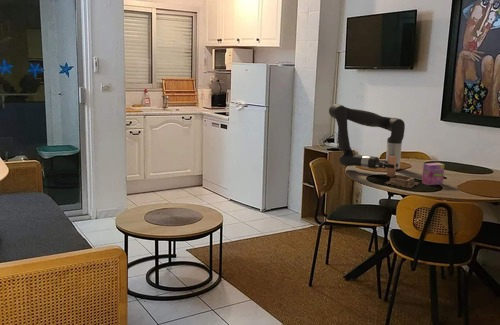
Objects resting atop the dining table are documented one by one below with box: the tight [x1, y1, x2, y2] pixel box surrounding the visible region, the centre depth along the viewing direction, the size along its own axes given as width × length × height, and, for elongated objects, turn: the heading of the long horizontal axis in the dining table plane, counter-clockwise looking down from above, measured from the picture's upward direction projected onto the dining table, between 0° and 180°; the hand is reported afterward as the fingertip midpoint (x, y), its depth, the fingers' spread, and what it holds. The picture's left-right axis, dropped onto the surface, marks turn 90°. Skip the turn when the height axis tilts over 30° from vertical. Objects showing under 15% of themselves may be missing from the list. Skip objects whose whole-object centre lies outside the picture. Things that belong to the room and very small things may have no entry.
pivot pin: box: [386, 156, 397, 178], centre depth 302 cm, size 5×5×12 cm
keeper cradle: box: [385, 174, 420, 189], centre depth 287 cm, size 14×15×4 cm
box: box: [421, 162, 446, 186], centre depth 288 cm, size 10×6×12 cm, turn 105°
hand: (395, 166), depth 301 cm, fingers closed on pivot pin, 5 cm apart
